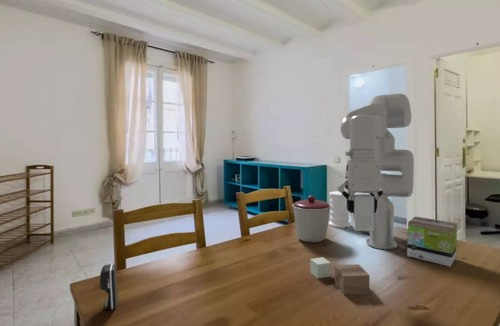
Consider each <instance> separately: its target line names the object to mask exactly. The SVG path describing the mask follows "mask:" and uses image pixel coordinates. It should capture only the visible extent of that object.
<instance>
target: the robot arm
mask: <svg viewBox="0 0 500 326" xmlns="http://www.w3.org/2000/svg"><path fill="white" fill-rule="evenodd" d="M411 110H412V109H411V103H410V100H409V98H408V96H407V95H406V94H404V93H391V94H389V93H388V94H381V95H376V96H373V97H372V98H371V99H370V100H369V102H368V103H367V104H366V106H365V105H364V106H362V107H359V108H356V109H355V110H352V111H350V112H348V113H347V114H346V115H345V117H343V120H342V122H341V125H340V133H341V136H342V137H343V139H345V140H349V149H348V151H345V157H349V158H348V159H347V162H346V167H345V174H344V180H343V181H342V182H341V183H340V184H339V185H337V186H336V190H338V191H340V192H341V194H342V195H343V196H344V197H345V198H346V199H347V210H348V211H349V214H351V213H354V201H353V196H354V194H355V193H360V192H369V193H370V195H372V196H373V197H374V231H370V233H368V234H369V238H367V239H366V242H365V243H366V244H367V245H368V246H369V247H370V248H371V247H372V248H373V249H379V250H394V249H396V248H398V243H397V242H396V241H395V240H394V233H395V232H394V227H395V226H394V225H395V223H394V221H395V206H394V203H393V202H392V201H391V200H390V198H389V197H393V198H395V197H396V198H410V197H411V196H412V195H413V193H414V177H415V176H414V175H415V174H414V173H415V172H414V170H415V169H414V168H415V158H414V155H413V153H412V151H411V150H409V149H396V148H395V146H396V141H395V140H396V139H395V136H394V134H392V132H391V131H390V130H389V129H398V128H399V129H401V128H403V129H404V128H406V127H409V126H410V125H411V123H412V111H411ZM381 172H399V173H401V174H389V173H381ZM346 190H347V191H346Z"/></svg>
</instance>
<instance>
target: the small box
mask: <svg viewBox="0 0 500 326" xmlns="http://www.w3.org/2000/svg"><path fill="white" fill-rule="evenodd" d="M353 201H354V213H350V224H351V226H352V228H353V230H354V231H359V232H363V231H374V197H373V196H372V195H370V194H369V193H360V192H355V194H354V196H353Z"/></svg>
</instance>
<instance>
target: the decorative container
mask: <svg viewBox="0 0 500 326" xmlns="http://www.w3.org/2000/svg"><path fill="white" fill-rule="evenodd" d="M328 194H329V196H330V199H329V201H330V203H329V204H330V205H331V208H330V211H329V219H330V221H329V220H328V226H329V225H330V226H329V227H331V226H333V227H332V228H335V227H341V228H340V229H346V228H345V227H348V228H351V226H352V225H351V222H349V220H350V216H349V214H350V212H349V211H348V210H347V199H346V198H345V197H344V196H343V195H342V194H341V192H340V191H339V190H338V191H330V192H329V193H328ZM350 225H351V226H350Z"/></svg>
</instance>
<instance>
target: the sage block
mask: <svg viewBox="0 0 500 326" xmlns="http://www.w3.org/2000/svg"><path fill="white" fill-rule="evenodd" d="M309 261H310V262H309V265H310V272H309V273H310V274H311V275H313V276H314V277H315V278H316V279H317V278H319V279H323V277H324V278H329V277H331V265H332V264H331V262H330V261H329V260H327V259H326V258H325V257H316V258H315V257H314V258H310V259H309Z"/></svg>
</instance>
